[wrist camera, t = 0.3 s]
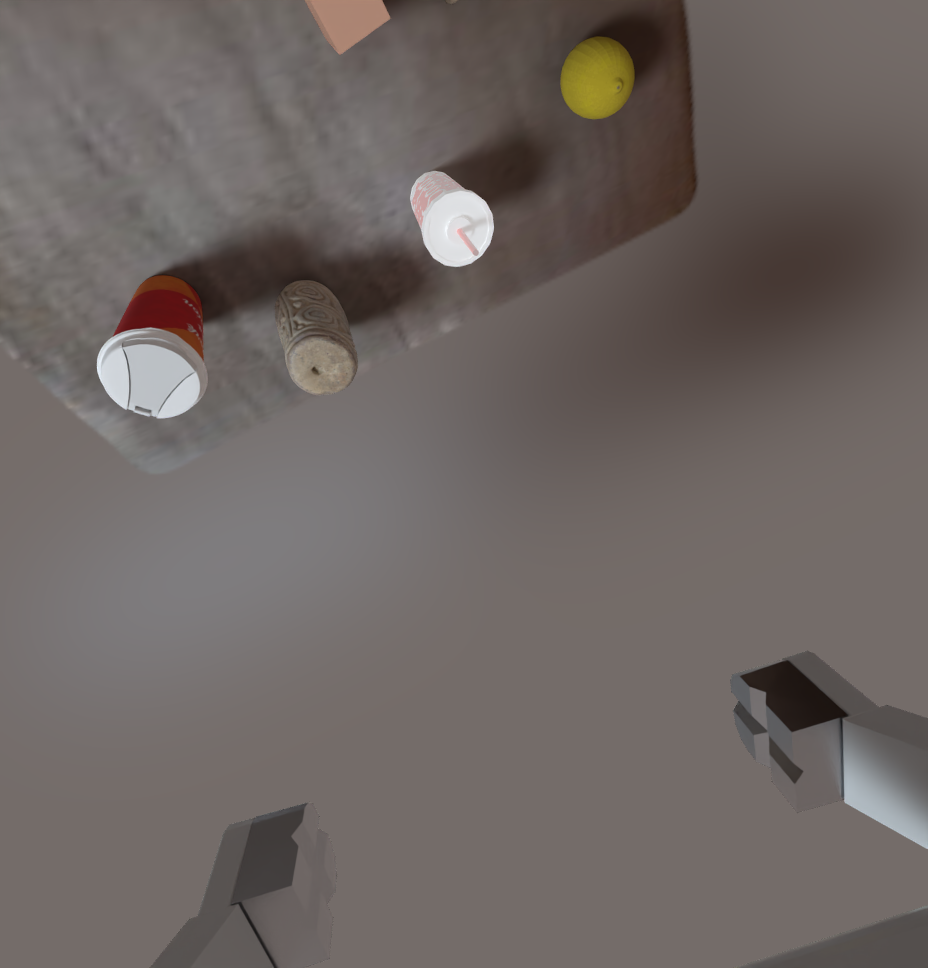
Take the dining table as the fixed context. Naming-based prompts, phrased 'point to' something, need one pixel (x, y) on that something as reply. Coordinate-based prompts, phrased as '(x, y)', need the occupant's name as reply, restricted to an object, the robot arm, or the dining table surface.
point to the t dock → (450, 1)
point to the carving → (315, 338)
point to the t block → (347, 20)
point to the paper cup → (157, 350)
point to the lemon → (597, 77)
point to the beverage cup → (451, 219)
